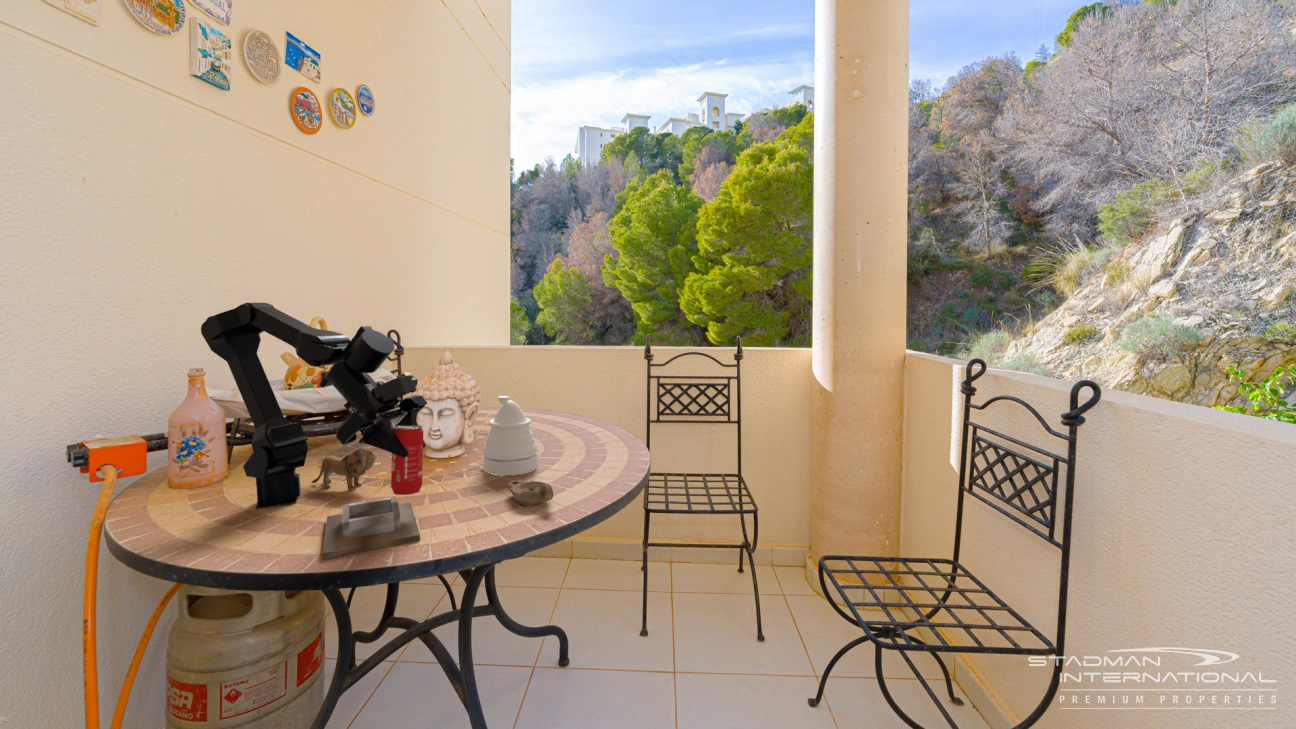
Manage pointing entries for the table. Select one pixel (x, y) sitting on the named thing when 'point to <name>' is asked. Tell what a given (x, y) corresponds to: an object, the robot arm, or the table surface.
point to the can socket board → (369, 527)
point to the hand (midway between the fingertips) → (415, 451)
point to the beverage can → (408, 461)
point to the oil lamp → (530, 492)
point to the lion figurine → (347, 467)
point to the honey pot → (510, 442)
